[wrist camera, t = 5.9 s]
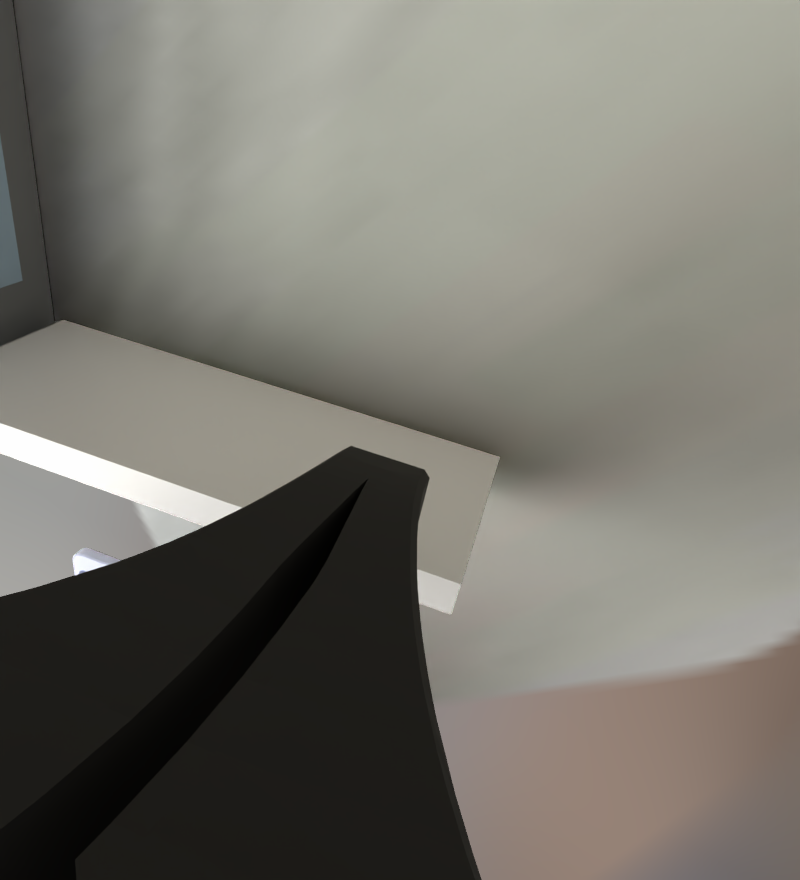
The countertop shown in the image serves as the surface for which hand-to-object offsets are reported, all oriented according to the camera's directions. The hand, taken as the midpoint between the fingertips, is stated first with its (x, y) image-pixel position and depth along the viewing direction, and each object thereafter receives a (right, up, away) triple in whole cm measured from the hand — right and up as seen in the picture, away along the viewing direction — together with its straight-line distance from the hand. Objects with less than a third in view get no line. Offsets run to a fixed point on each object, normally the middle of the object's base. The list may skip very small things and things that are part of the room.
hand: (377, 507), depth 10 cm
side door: (-3, +2, +6) cm, 7 cm away
